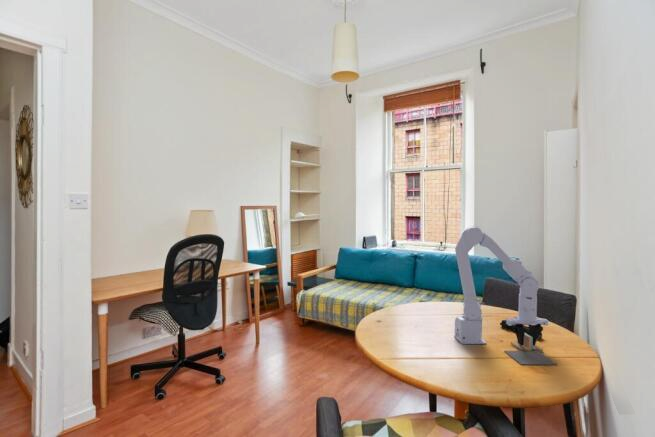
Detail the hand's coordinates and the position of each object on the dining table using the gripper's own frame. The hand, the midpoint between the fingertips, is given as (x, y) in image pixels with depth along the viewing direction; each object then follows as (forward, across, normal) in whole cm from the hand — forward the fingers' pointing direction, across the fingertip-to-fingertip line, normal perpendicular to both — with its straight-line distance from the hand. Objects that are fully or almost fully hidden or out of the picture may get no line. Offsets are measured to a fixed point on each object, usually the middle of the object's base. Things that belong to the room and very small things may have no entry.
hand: (526, 344), depth 123 cm
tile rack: (+1, 0, 0) cm, 1 cm away
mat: (+1, -4, -8) cm, 9 cm away
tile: (+2, 0, 0) cm, 2 cm away
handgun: (+2, +10, +17) cm, 20 cm away
